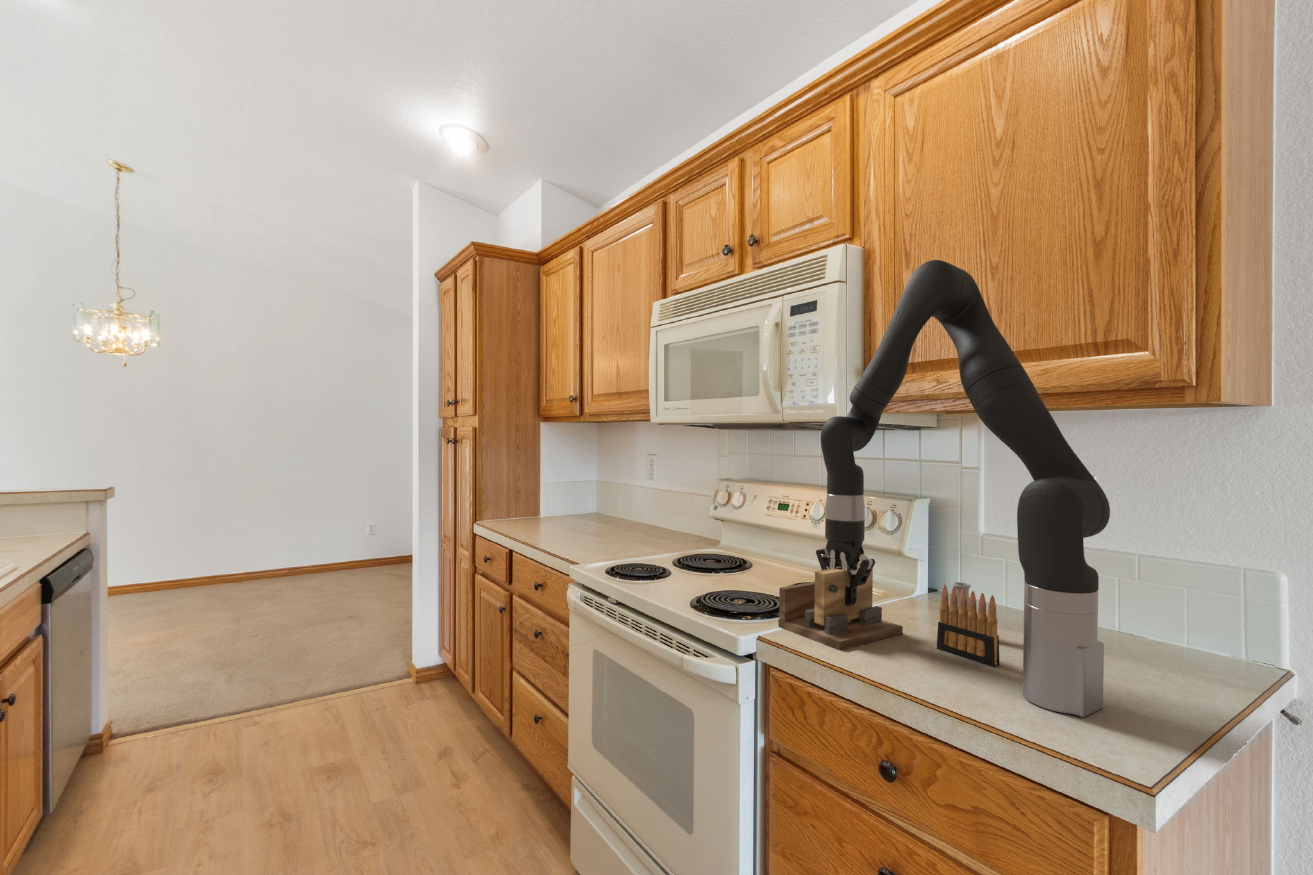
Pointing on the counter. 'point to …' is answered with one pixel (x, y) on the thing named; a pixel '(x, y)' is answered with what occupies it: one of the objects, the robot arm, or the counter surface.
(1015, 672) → the counter surface
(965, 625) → the ammunition clip
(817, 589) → the door
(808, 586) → the brown wooden base
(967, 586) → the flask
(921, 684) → the counter surface
